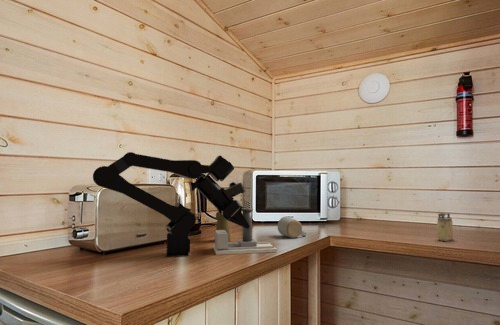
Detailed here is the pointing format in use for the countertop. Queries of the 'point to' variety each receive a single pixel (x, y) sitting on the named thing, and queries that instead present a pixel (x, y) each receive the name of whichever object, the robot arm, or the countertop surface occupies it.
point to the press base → (234, 248)
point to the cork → (222, 224)
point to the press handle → (247, 230)
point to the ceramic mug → (290, 227)
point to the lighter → (444, 227)
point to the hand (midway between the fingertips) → (246, 225)
